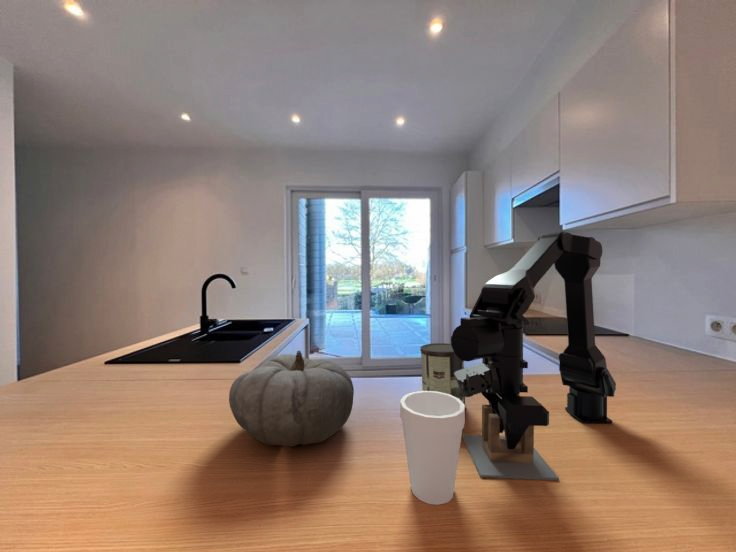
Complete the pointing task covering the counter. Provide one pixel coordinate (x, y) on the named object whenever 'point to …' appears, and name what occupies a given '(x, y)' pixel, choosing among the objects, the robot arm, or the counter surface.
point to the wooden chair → (504, 441)
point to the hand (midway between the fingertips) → (504, 440)
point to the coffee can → (440, 369)
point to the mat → (507, 464)
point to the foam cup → (432, 443)
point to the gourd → (292, 400)
